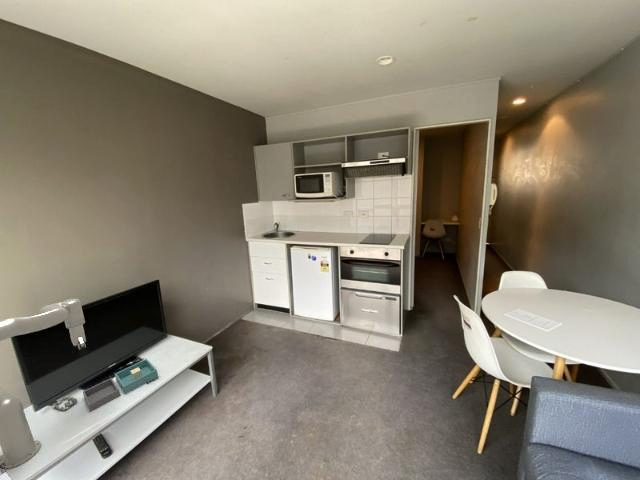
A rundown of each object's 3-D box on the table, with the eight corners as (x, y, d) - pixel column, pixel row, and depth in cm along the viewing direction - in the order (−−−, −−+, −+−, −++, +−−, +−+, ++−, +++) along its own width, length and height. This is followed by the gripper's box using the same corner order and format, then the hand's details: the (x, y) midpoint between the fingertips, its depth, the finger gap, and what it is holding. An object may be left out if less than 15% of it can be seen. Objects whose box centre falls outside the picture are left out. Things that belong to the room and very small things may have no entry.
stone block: (134, 382, 169) (132, 374, 168) (132, 379, 172) (130, 371, 170) (142, 378, 172) (140, 369, 171) (140, 375, 175) (138, 367, 174)
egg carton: (52, 409, 153) (50, 403, 152) (68, 399, 160) (66, 393, 159) (64, 414, 149) (62, 408, 148) (80, 403, 156) (78, 397, 155)
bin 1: (90, 413, 149) (88, 405, 148) (84, 398, 159) (82, 391, 158) (121, 396, 159) (119, 389, 158) (113, 384, 169) (111, 377, 168)
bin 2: (125, 395, 160) (123, 386, 159) (116, 382, 171) (114, 373, 170) (158, 377, 173) (156, 369, 172) (148, 366, 185) (146, 358, 183)
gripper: (62, 320, 146) (70, 348, 149) (68, 330, 135) (75, 361, 138) (81, 314, 151) (87, 342, 155) (87, 324, 140) (94, 353, 144)
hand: (82, 351), depth 146 cm, fingers open, 9 cm apart
